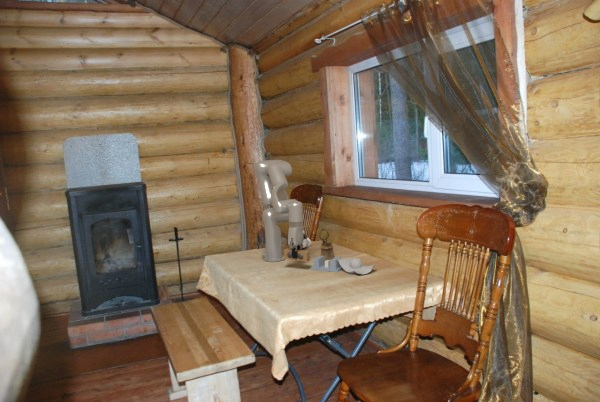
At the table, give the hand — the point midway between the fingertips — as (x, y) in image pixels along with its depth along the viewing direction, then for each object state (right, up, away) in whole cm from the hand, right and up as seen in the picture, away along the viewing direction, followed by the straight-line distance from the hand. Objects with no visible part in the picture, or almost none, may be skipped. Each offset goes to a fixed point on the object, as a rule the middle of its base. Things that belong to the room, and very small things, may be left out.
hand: (296, 256), depth 259 cm
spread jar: (+3, -1, +57) cm, 57 cm away
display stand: (+17, -6, 0) cm, 18 cm away
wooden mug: (+17, -5, +18) cm, 25 cm away
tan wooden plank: (0, -1, 0) cm, 1 cm away
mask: (+32, -7, -7) cm, 34 cm away
